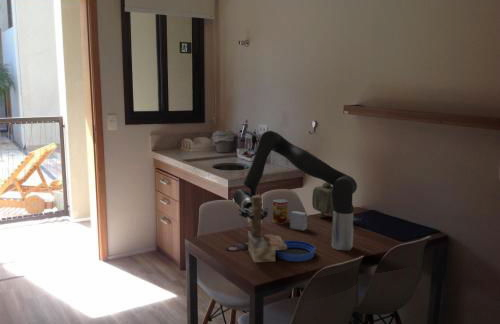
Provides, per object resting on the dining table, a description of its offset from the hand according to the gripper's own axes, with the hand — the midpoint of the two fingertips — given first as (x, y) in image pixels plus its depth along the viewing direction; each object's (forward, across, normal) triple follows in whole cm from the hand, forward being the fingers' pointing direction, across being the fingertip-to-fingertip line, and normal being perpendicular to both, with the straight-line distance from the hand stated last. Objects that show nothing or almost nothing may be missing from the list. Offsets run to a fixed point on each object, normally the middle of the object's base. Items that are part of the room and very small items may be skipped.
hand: (257, 217), depth 190 cm
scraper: (-3, 0, +12) cm, 12 cm away
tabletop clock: (-56, +51, +19) cm, 78 cm away
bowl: (-3, +18, +19) cm, 26 cm away
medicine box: (-38, +30, +19) cm, 52 cm away
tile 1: (+2, +7, +12) cm, 14 cm away
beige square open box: (-3, +5, +18) cm, 19 cm away
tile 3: (-7, +7, +12) cm, 15 cm away
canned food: (-51, +23, +19) cm, 60 cm away
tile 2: (-3, +8, +12) cm, 14 cm away
